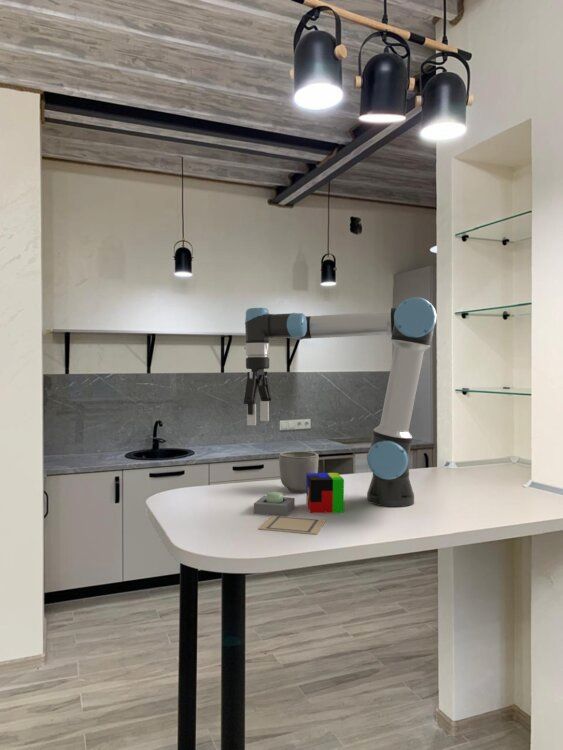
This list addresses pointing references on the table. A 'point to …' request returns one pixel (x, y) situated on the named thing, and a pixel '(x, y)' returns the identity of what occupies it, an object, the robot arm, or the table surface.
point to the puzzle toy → (324, 493)
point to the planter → (297, 469)
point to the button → (274, 497)
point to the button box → (274, 507)
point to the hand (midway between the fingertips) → (258, 423)
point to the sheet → (293, 524)
